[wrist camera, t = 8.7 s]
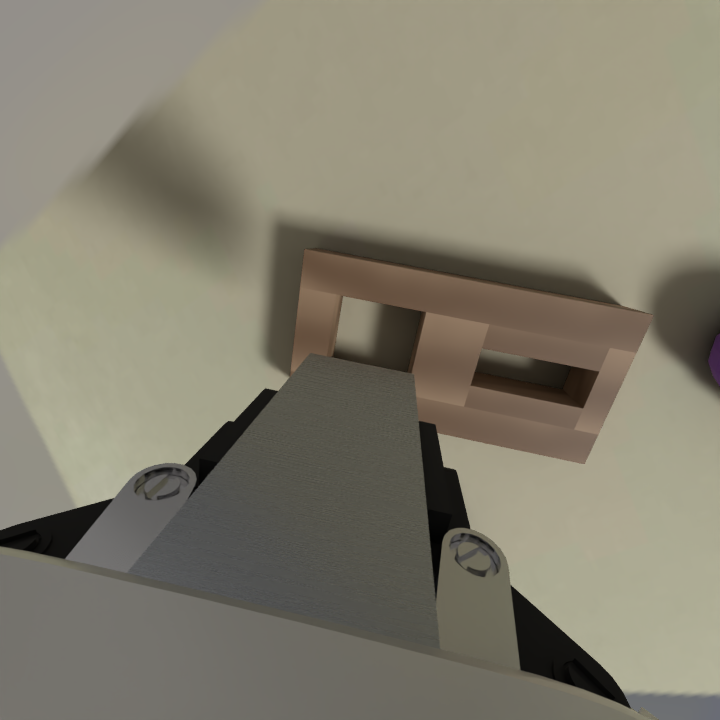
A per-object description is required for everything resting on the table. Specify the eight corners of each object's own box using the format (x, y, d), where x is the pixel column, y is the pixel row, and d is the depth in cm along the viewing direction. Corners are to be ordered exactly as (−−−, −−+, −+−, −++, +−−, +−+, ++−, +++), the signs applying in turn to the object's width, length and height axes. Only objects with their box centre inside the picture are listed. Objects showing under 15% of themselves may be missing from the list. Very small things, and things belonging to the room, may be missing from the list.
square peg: (310, 352, 13) (86, 621, 4) (413, 373, 13) (446, 711, 4) (298, 442, 15) (109, 805, 5) (392, 462, 14) (374, 878, 5)
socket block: (316, 248, 23) (304, 249, 20) (622, 305, 22) (654, 315, 19) (299, 384, 27) (286, 400, 24) (564, 439, 26) (584, 464, 23)
